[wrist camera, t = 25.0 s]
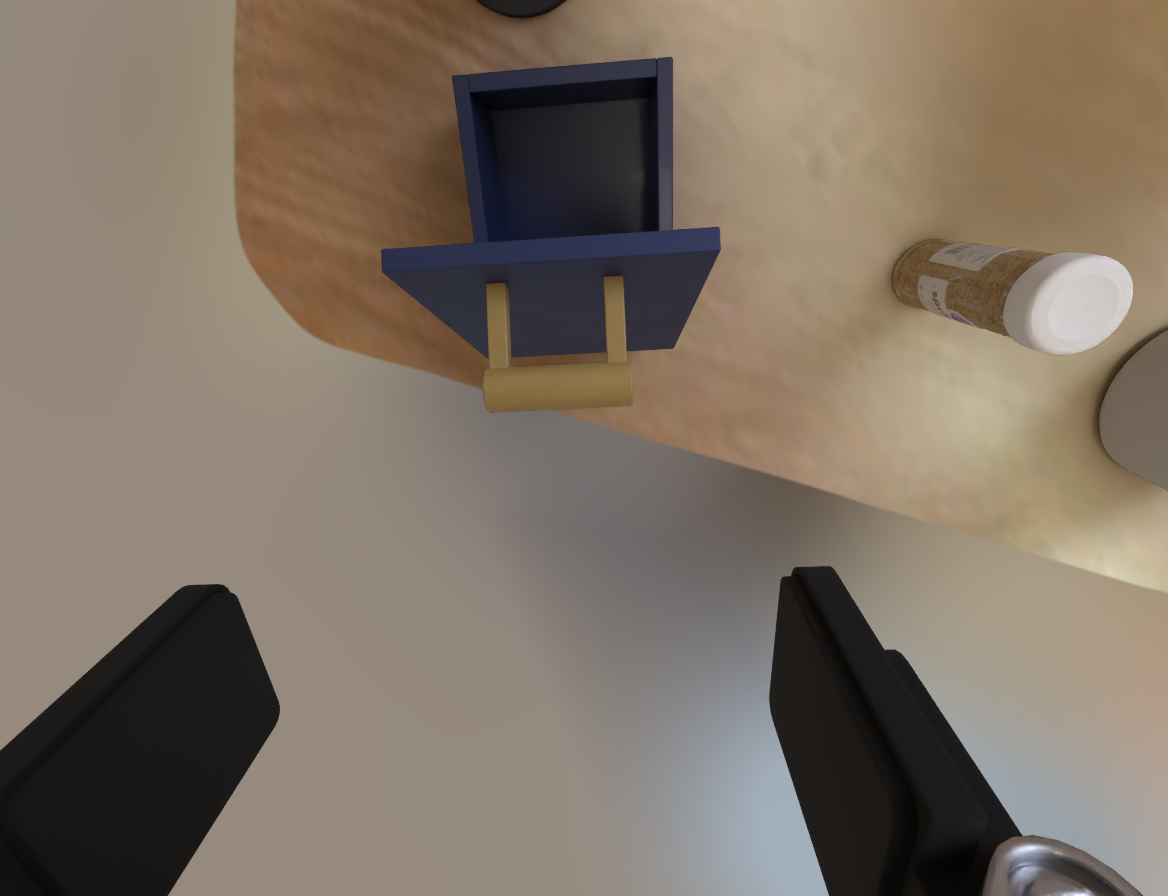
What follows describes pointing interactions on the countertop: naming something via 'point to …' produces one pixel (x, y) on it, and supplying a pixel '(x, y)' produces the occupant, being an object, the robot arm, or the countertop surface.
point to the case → (568, 149)
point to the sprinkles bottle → (1018, 292)
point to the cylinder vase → (1139, 413)
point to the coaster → (521, 7)
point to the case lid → (561, 307)
